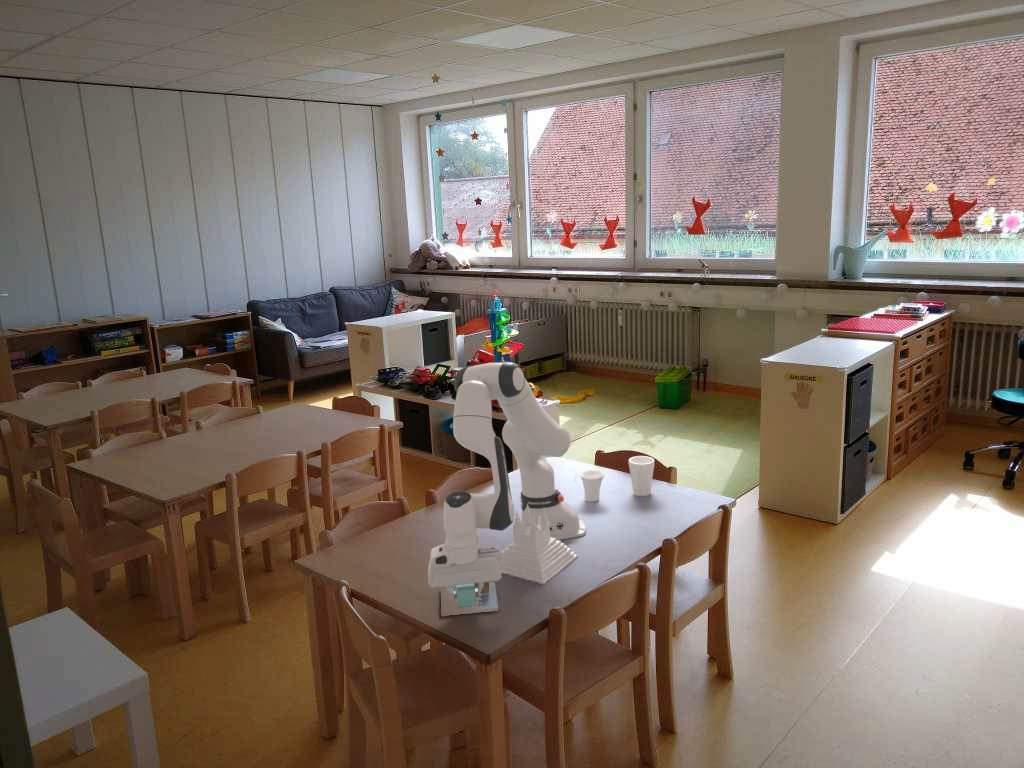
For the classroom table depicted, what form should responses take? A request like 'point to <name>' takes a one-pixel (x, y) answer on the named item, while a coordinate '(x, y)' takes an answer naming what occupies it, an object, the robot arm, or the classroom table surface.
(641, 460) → the foam cup
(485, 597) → the building board
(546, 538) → the castle model
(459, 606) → the teal cube
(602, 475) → the cup
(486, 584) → the walnut cube
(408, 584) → the classroom table surface
